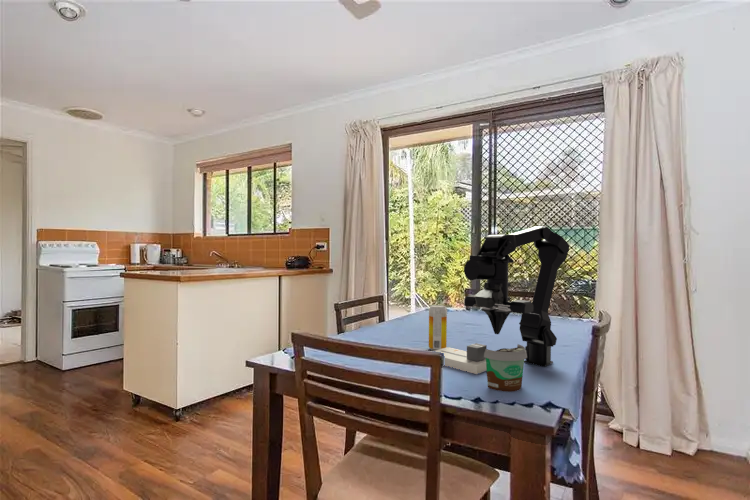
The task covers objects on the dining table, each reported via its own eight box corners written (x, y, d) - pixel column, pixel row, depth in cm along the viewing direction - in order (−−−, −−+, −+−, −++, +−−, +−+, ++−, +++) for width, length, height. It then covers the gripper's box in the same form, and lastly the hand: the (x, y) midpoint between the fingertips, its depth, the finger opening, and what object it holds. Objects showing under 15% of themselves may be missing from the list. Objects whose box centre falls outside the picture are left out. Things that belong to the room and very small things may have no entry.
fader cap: (486, 358, 120) (486, 345, 120) (477, 362, 116) (477, 348, 116) (475, 356, 122) (476, 343, 122) (466, 359, 119) (466, 345, 119)
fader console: (496, 366, 121) (496, 358, 121) (476, 374, 113) (476, 365, 113) (447, 354, 134) (447, 346, 134) (426, 360, 126) (426, 352, 126)
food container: (501, 396, 96) (501, 355, 96) (483, 388, 102) (483, 349, 102) (537, 388, 102) (538, 349, 102) (518, 381, 108) (519, 343, 107)
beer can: (445, 347, 142) (446, 305, 142) (447, 352, 136) (447, 307, 136) (428, 347, 143) (428, 304, 143) (428, 351, 137) (429, 307, 137)
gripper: (453, 278, 116) (452, 332, 116) (514, 283, 102) (514, 344, 102) (474, 276, 123) (474, 327, 123) (534, 280, 110) (533, 338, 110)
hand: (496, 334), depth 115 cm, fingers closed
